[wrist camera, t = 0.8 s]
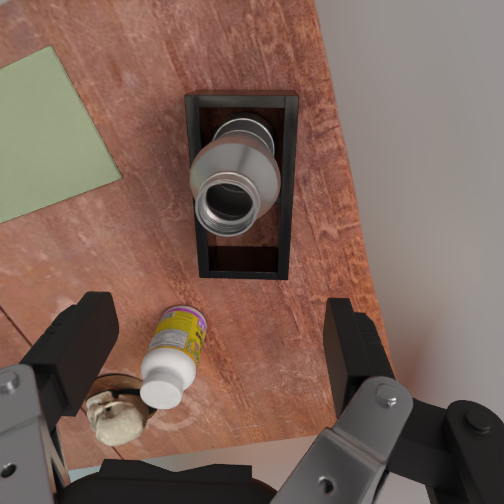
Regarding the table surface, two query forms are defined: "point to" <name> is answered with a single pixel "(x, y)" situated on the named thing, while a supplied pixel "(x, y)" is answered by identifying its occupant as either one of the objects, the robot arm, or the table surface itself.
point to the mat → (46, 138)
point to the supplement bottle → (172, 357)
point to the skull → (117, 409)
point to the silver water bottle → (236, 175)
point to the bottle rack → (271, 258)
